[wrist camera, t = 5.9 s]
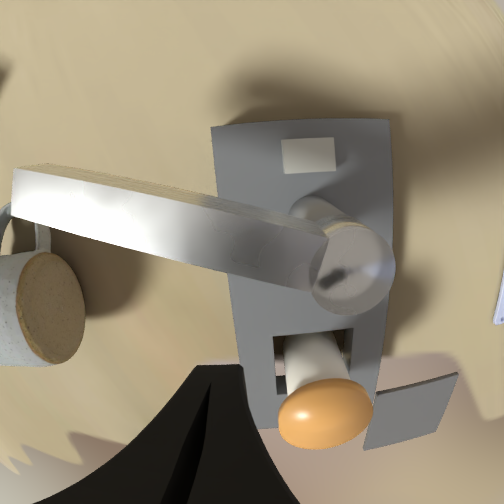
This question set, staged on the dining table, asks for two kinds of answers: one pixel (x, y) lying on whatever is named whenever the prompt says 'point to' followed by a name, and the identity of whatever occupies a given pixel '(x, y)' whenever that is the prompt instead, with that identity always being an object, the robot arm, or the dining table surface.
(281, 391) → the grey panel with tab
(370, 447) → the rubber mat
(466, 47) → the dining table surface
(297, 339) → the mushroom
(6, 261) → the ceramic mug
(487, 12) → the dining table surface
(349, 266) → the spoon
